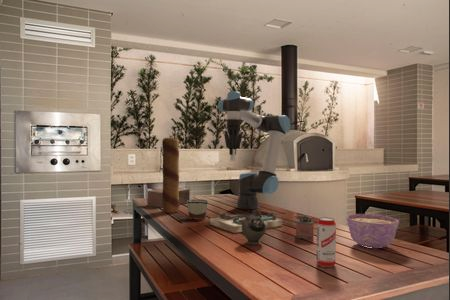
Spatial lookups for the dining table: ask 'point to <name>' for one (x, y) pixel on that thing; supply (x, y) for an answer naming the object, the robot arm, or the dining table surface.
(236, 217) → the charcoal strap
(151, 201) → the tissue box cover
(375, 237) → the bowl of food
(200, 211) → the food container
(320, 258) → the beer can
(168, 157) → the wafer roll
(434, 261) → the dining table surface
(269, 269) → the dining table surface
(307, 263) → the dining table surface
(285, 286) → the dining table surface
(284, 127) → the robot arm
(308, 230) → the potted succulent
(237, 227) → the mount
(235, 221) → the teal strap
